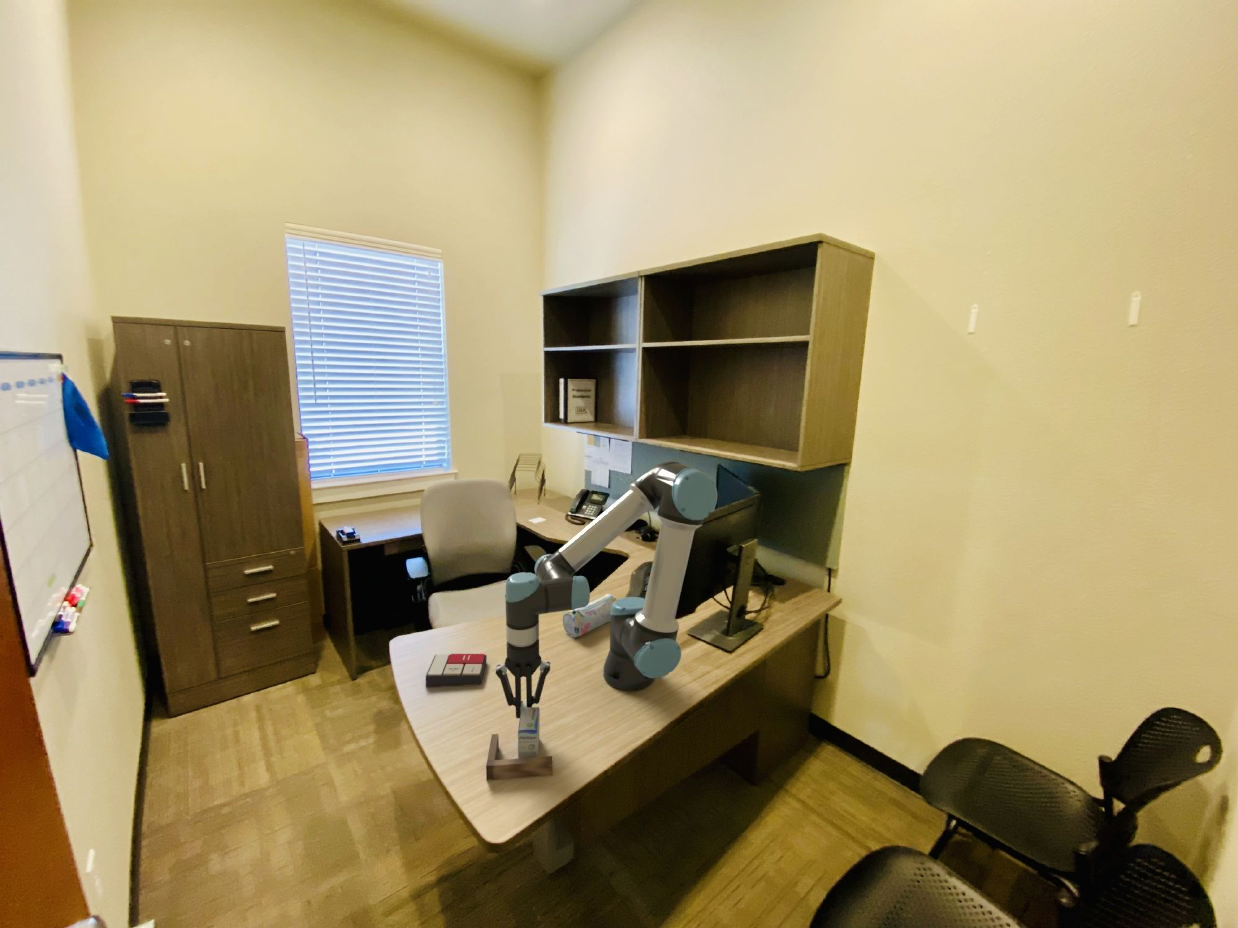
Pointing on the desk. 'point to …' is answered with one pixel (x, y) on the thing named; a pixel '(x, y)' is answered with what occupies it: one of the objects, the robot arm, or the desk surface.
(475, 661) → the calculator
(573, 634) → the pencil case
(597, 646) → the desk surface
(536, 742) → the medicine box
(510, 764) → the corner fence
